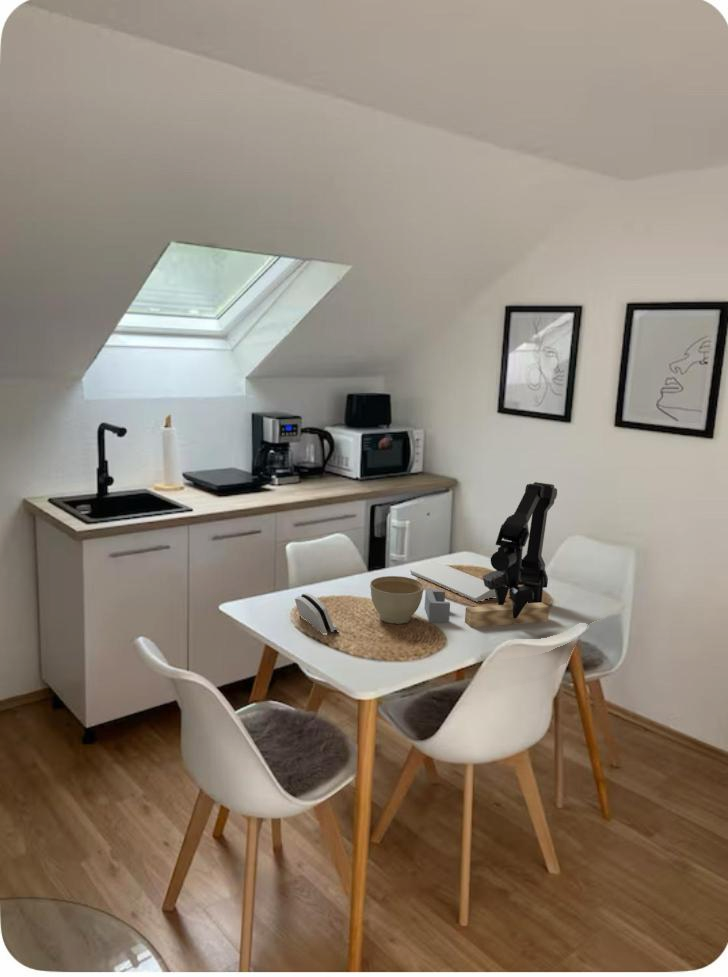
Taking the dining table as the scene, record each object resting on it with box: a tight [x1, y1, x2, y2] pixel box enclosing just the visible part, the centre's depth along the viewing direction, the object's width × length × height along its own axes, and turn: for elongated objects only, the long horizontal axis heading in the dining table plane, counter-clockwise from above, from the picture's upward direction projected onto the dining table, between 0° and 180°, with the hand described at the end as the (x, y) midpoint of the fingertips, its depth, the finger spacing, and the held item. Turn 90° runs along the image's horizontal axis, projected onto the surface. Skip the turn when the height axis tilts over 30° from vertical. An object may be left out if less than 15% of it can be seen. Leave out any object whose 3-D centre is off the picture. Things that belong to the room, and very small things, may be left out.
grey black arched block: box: [294, 592, 340, 634], centre depth 218 cm, size 17×5×10 cm, turn 30°
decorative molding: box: [409, 558, 496, 603], centre depth 260 cm, size 34×5×10 cm
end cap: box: [424, 589, 451, 623], centre depth 231 cm, size 6×12×6 cm, turn 2°
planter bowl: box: [369, 575, 425, 625], centre depth 226 cm, size 16×16×11 cm
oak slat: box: [464, 601, 550, 628], centre depth 228 cm, size 26×4×5 cm, turn 107°
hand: (507, 612), depth 228 cm, fingers open, 9 cm apart
